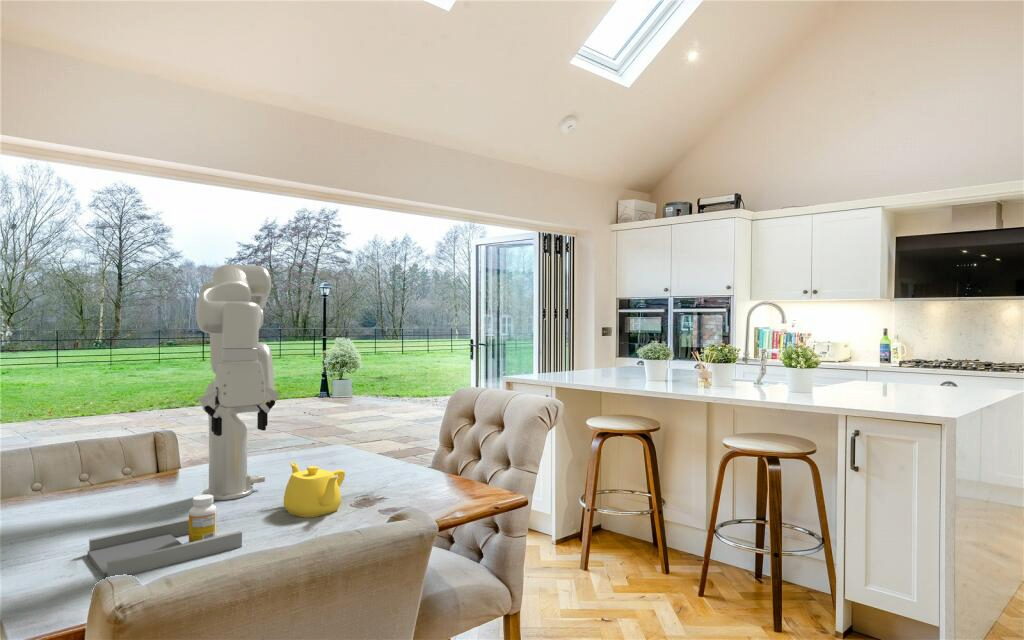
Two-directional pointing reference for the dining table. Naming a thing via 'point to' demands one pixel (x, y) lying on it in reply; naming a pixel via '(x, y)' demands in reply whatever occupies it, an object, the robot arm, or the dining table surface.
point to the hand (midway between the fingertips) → (240, 432)
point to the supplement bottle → (202, 518)
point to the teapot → (313, 491)
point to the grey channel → (153, 548)
